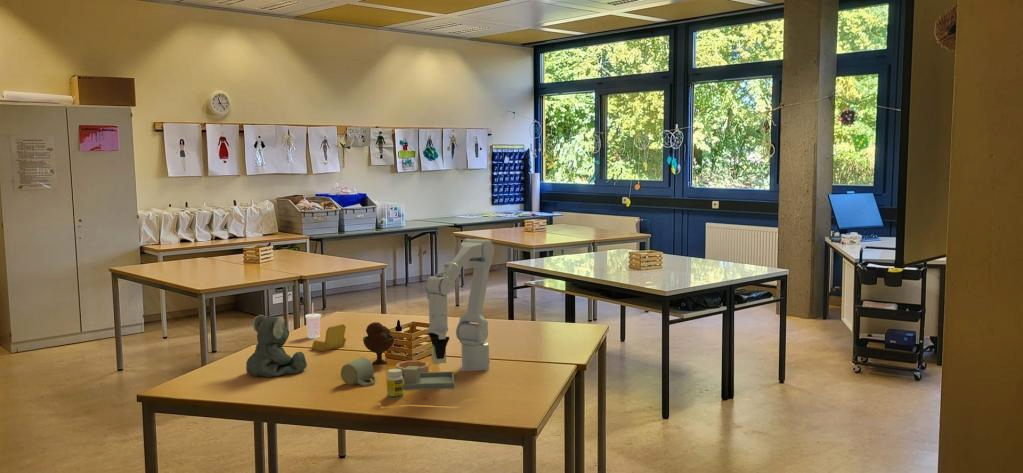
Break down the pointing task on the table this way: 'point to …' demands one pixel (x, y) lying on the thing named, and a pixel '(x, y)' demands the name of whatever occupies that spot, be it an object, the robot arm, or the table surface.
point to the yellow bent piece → (331, 338)
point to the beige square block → (412, 375)
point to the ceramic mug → (358, 372)
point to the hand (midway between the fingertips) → (439, 356)
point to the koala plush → (273, 350)
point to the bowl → (423, 365)
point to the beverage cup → (313, 324)
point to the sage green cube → (434, 358)
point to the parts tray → (432, 381)
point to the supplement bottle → (394, 384)
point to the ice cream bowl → (378, 341)
